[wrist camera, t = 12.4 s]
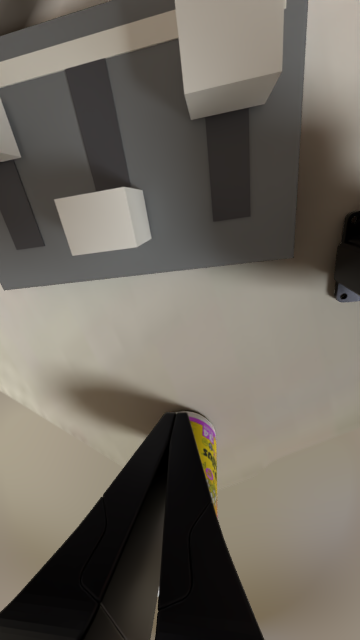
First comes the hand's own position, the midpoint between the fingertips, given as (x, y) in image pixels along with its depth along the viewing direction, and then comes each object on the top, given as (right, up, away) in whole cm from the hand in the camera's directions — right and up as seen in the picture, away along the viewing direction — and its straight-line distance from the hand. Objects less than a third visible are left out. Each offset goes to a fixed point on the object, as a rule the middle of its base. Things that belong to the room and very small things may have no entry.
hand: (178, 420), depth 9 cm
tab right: (+2, +17, +4) cm, 17 cm away
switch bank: (-4, +14, +8) cm, 17 cm away
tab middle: (-4, +11, +7) cm, 14 cm away
